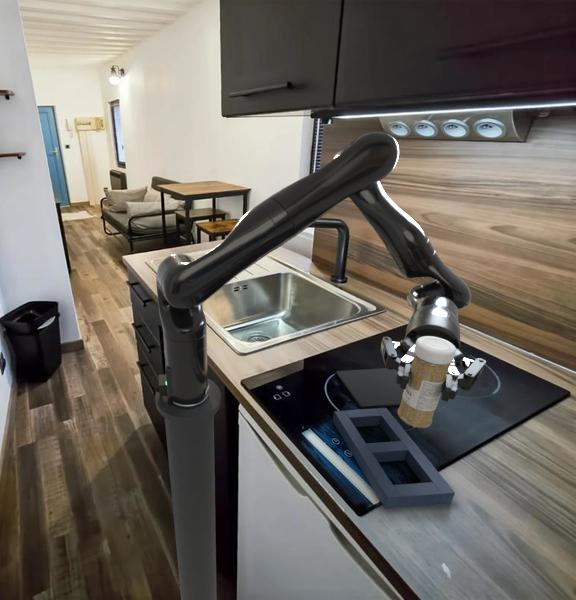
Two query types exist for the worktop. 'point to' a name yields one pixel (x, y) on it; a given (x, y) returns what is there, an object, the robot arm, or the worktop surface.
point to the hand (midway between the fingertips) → (424, 389)
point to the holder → (398, 449)
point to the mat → (373, 387)
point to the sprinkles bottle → (426, 380)
